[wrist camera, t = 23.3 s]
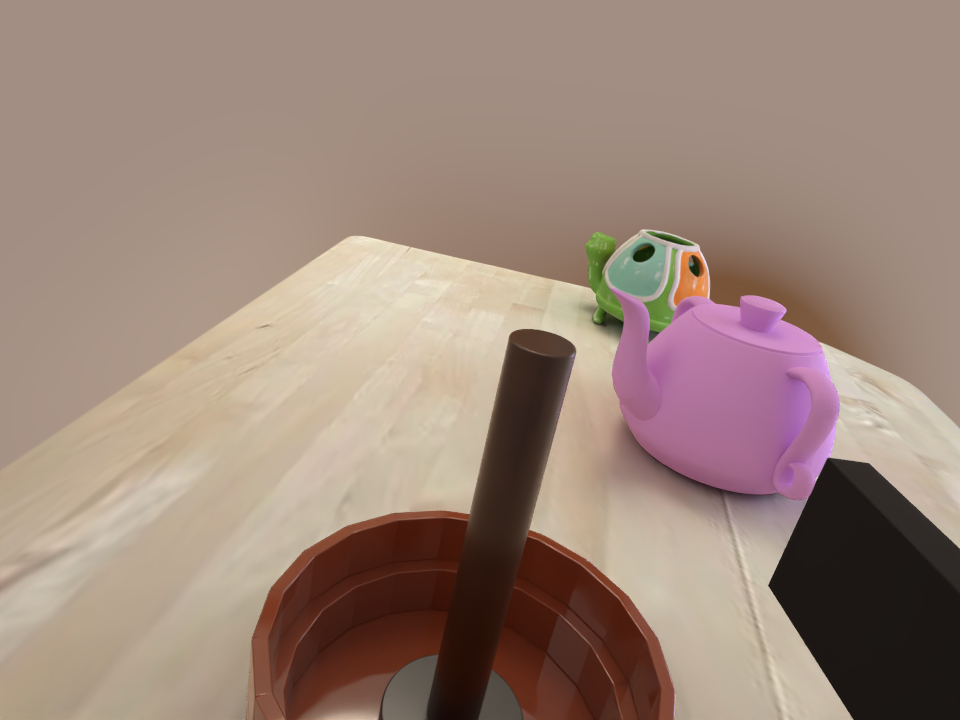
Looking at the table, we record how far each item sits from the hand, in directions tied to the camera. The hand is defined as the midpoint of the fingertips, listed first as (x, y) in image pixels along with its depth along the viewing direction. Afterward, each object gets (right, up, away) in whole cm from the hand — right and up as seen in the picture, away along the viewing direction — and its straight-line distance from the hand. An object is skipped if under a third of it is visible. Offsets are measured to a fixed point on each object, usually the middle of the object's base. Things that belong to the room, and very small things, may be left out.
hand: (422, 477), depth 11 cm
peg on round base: (0, -14, +18) cm, 23 cm away
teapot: (+18, -6, +48) cm, 51 cm away
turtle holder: (+20, +6, +76) cm, 79 cm away
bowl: (-1, -14, +19) cm, 24 cm away
